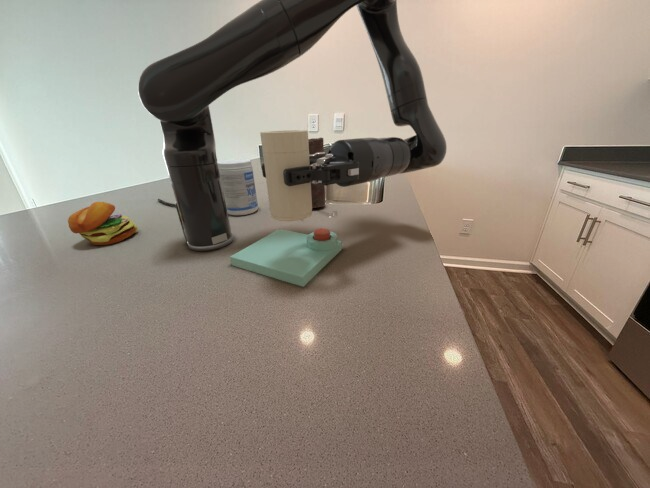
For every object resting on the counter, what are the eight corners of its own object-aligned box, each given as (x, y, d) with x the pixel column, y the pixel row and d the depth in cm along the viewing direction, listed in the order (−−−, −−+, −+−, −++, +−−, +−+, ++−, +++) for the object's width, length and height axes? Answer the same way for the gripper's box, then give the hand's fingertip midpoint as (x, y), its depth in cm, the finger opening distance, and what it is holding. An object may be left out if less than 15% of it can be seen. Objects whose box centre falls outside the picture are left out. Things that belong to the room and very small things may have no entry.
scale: (231, 265, 48) (228, 248, 47) (280, 236, 60) (278, 222, 59) (303, 287, 42) (302, 268, 40) (342, 249, 53) (342, 233, 52)
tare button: (310, 240, 50) (310, 233, 50) (318, 234, 53) (318, 227, 52) (325, 243, 49) (325, 235, 48) (332, 237, 52) (332, 229, 51)
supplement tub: (258, 214, 75) (251, 162, 68) (224, 218, 73) (213, 164, 67) (258, 205, 83) (251, 157, 77) (227, 208, 82) (218, 159, 75)
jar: (262, 218, 39) (250, 132, 34) (287, 206, 44) (279, 130, 39) (297, 224, 37) (289, 132, 31) (319, 210, 42) (316, 129, 36)
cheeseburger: (146, 235, 62) (119, 199, 56) (96, 261, 56) (61, 223, 51) (134, 225, 68) (109, 191, 62) (88, 247, 63) (56, 212, 57)
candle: (322, 211, 76) (320, 138, 67) (298, 210, 77) (293, 139, 69) (327, 204, 83) (326, 136, 74) (305, 203, 84) (301, 137, 75)
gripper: (334, 136, 49) (250, 143, 40) (394, 139, 38) (296, 149, 29) (335, 177, 52) (257, 191, 43) (390, 190, 41) (301, 212, 33)
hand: (273, 174), depth 36 cm, fingers closed on jar, 6 cm apart
